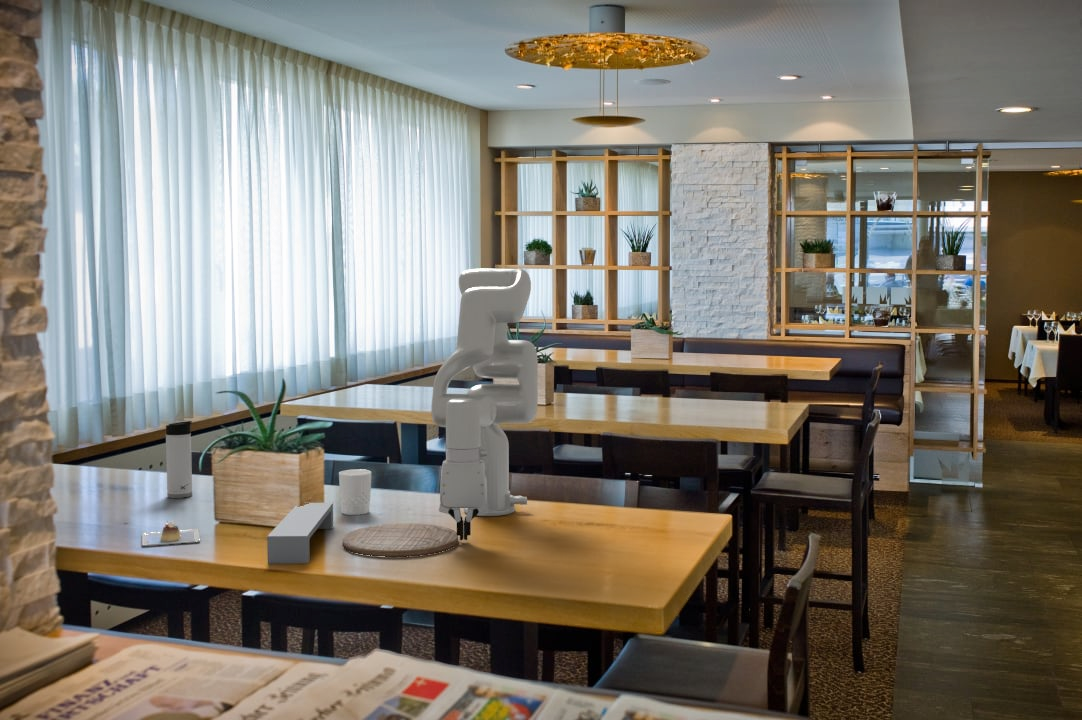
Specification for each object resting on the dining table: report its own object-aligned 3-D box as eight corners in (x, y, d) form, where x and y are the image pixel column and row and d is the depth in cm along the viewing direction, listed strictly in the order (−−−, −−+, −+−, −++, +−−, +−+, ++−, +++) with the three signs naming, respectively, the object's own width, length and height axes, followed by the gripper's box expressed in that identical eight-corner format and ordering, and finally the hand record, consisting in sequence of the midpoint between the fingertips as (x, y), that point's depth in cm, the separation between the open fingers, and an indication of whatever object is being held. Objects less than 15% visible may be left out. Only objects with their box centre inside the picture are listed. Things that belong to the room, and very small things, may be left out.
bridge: (333, 526, 256) (333, 502, 256) (307, 563, 223) (306, 536, 223) (298, 526, 256) (298, 502, 255) (267, 563, 223) (267, 536, 222)
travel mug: (189, 498, 288) (187, 422, 286) (163, 498, 288) (161, 422, 286) (196, 494, 294) (195, 419, 293) (172, 494, 294) (170, 419, 293)
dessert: (142, 537, 247) (141, 516, 247) (198, 533, 251) (197, 512, 251) (141, 550, 236) (141, 528, 236) (200, 545, 240) (200, 524, 240)
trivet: (358, 530, 253) (358, 522, 253) (465, 532, 251) (465, 524, 251) (329, 558, 228) (329, 549, 228) (448, 560, 227) (448, 551, 226)
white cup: (368, 515, 267) (368, 475, 267) (336, 515, 268) (335, 475, 267) (374, 509, 275) (373, 469, 275) (342, 508, 275) (342, 469, 275)
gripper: (497, 452, 243) (497, 534, 244) (429, 452, 242) (430, 535, 244) (497, 458, 235) (497, 542, 237) (427, 458, 235) (428, 543, 236)
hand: (463, 538), depth 240 cm, fingers closed
